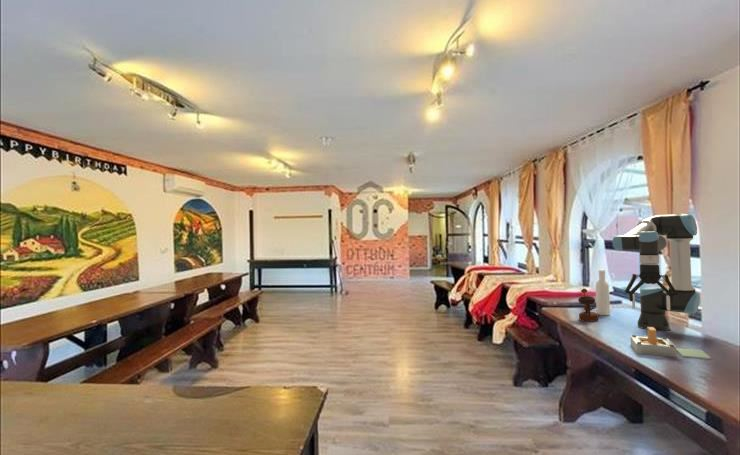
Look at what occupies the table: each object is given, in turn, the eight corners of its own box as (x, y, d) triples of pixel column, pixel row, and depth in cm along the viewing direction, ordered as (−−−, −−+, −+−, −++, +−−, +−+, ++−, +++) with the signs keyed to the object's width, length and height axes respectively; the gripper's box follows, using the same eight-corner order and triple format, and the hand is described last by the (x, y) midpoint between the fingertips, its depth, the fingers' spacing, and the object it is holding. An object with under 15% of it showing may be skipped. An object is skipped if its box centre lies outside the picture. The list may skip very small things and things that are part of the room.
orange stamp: (640, 347, 190) (639, 325, 190) (660, 349, 187) (659, 327, 187) (644, 352, 183) (643, 329, 183) (665, 354, 179) (664, 331, 180)
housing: (630, 344, 195) (630, 334, 195) (667, 347, 188) (667, 337, 188) (636, 353, 181) (636, 342, 181) (676, 357, 175) (676, 345, 175)
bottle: (612, 315, 258) (610, 270, 258) (599, 315, 259) (597, 270, 259) (607, 313, 265) (605, 269, 266) (594, 313, 267) (593, 269, 267)
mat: (675, 349, 186) (675, 347, 186) (701, 351, 182) (701, 350, 182) (682, 356, 175) (682, 355, 175) (711, 359, 171) (711, 357, 171)
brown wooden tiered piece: (574, 317, 256) (573, 286, 256) (592, 317, 255) (591, 286, 255) (585, 323, 241) (583, 290, 241) (603, 323, 239) (602, 290, 240)
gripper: (619, 264, 187) (621, 308, 187) (684, 265, 176) (686, 312, 176) (617, 263, 194) (618, 306, 193) (679, 263, 183) (681, 309, 183)
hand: (650, 309), depth 185 cm, fingers open, 13 cm apart
